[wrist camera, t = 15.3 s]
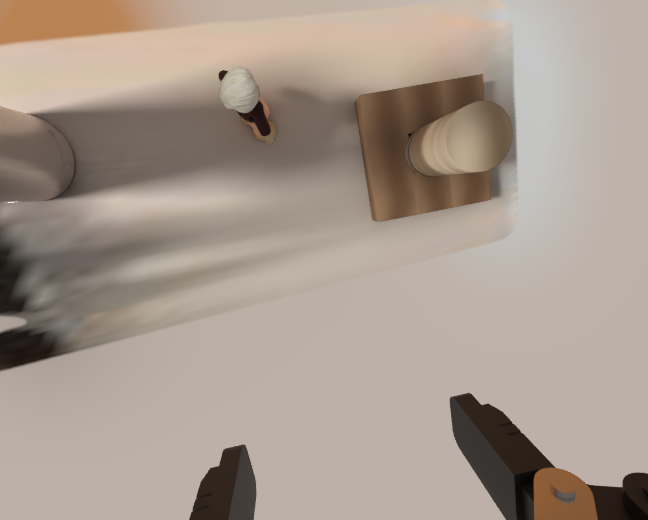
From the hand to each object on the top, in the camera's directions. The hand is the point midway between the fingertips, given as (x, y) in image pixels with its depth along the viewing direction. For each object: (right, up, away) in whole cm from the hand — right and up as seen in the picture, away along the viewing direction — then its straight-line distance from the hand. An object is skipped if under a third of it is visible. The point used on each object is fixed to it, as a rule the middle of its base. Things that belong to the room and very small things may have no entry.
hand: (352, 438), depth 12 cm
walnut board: (+11, +20, +28) cm, 36 cm away
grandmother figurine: (-9, +23, +25) cm, 35 cm away
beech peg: (+11, +20, +27) cm, 35 cm away
